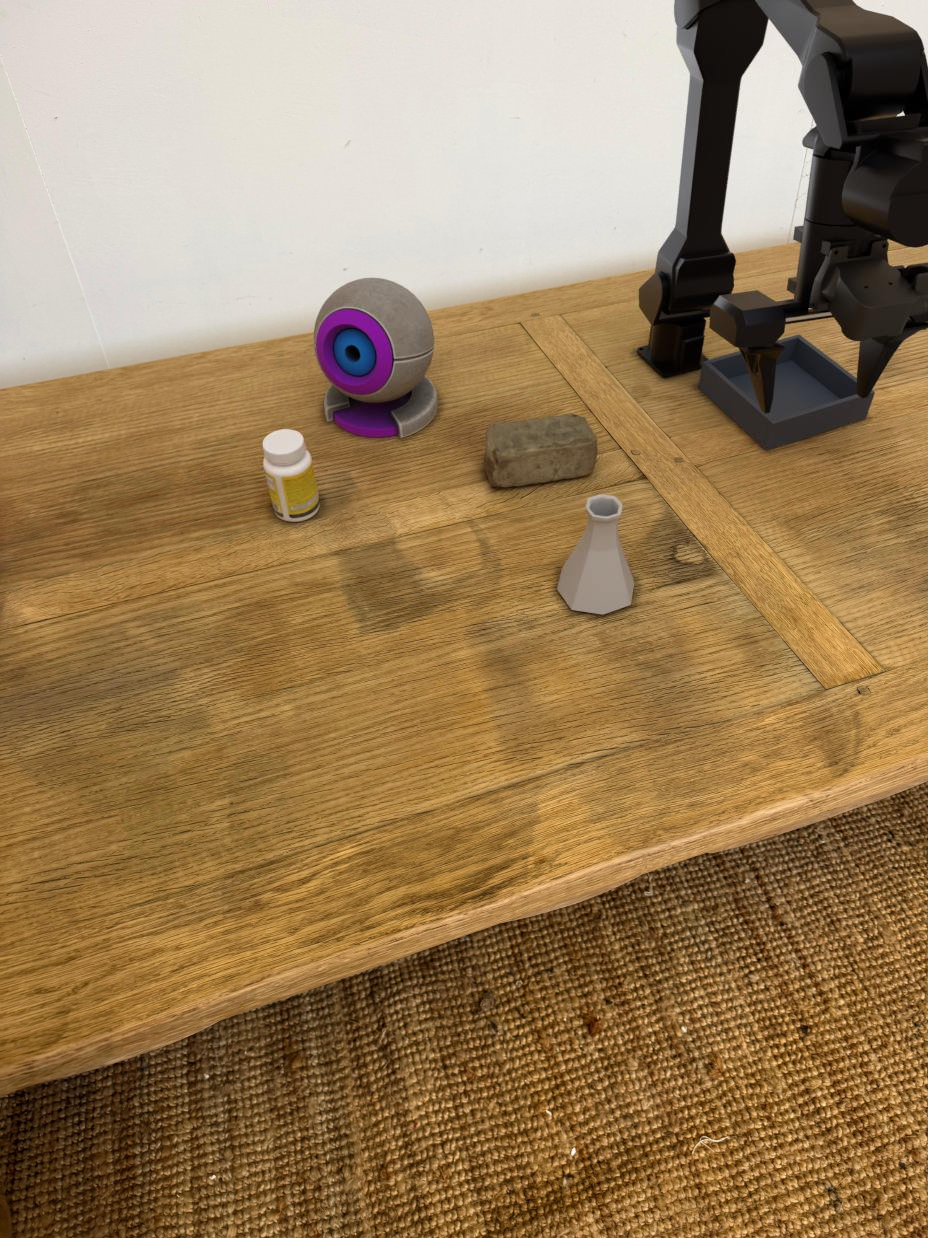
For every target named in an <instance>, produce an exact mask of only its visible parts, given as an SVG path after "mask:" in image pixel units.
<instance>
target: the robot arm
mask: <svg viewBox="0 0 928 1238" xmlns="http://www.w3.org/2000/svg"><path fill="white" fill-rule="evenodd" d="M673 16H674V22H675V25H676V34H675V36H676V39H675V41H676V46H677V48H678V50H679V53H680V56H681V58H682V60H683V62H684V64H685V66H686V68H687V70H688V73H689V84H688V85H689V86H688V94H687V105H686V114H685V126H684V133H683V145H682V146H683V147H682V155H681V157H682V158H681V164H680V175H679V185H678V196H677V205H676V206H677V207H676V217H675V225H674V228H673V229H672V230H671V232H670V234H668V236H667V238H666V239H665V241H664V242H663V244H662V245H661V247H660V248H659V250H658V252H657V255H656V262H655V267H654V273H652V275H651V276H650V277H649V278H647V280H646V281H645V282H644V283H643V284H642V285H641V286H639V288H638V308H639V309H640V311H641V313H642V314H643V315H644V317H645V318H646V319H647V321H648V322H649V324H650V329H649V335H648V336H649V337H648V343H647V344H646V345H643V346H639V347H637V348H636V353H637V355H638V356H639V357H640V358H641V359H643V360H644V361H645V362H646V363H647V364H648V365H649V366H650V367H651V368H652V369H653V370H654V371H655V372H656V373H657V374H658V375H660V376H661V377H662V378H669V377H673V376H676V375H680V374H684V373H687V372H691V371H694V370H697V369H701V368H702V363H703V361H706V360H710V359H709V358H708V357H707V356H705V355H704V354H703V348H704V343H705V332H706V331H705V330H706V325H707V319H706V318H709V321H708V328H709V329H710V330H712V331H713V332H714V333H715V334H717V335H718V336H720V337H721V338H722V339H724V340H725V341H726V342H727V343H729V344H730V345H731V346H733V347H735V348H738V351H740V352H741V354H742V357H743V359H744V361H745V363H746V366H747V369H748V372H749V375H750V378H751V381H752V385H753V388H754V391H755V394H756V397H757V400H758V403H759V406H760V409H761V411H762V412H764V413H765V414H768V413H770V410H771V406H772V402H773V395H774V384H775V373H776V362H777V358H778V357H779V355H780V354H781V353H782V351H783V350H784V349H785V346H784V345H783V344H781V343H780V342H778V341H777V340H780V339H781V337H782V336H783V335H784V334H785V329H786V325H792V324H799V323H804V322H812V321H818V320H825V319H826V320H827V319H832V318H833V319H834V320H835V322H836V323H837V324H838V325H839V327H840V331H841V333H842V334H843V336H844V337H846V339H848V340H850V341H853V342H859V346H858V347H859V348H858V360H857V371H856V378H857V395H858V396H859V397H861V398H867V397H868V396H869V394H870V392H871V391H872V390H873V389H874V387H875V386H876V384H877V382H878V381H879V379H880V377H881V376H882V374H883V372H884V371H885V369H886V368H887V366H888V364H889V363H890V361H891V359H892V358H893V357H894V354H895V353H896V352H897V350H898V349H899V347H900V346H901V345H902V344H903V342H904V341H906V340H908V338H910V337H912V336H914V335H915V334H917V333H918V332H922V331H926V330H927V329H928V262H921V263H913V264H909V265H907V266H904V265H903V264H899V265H891V264H890V263H889V255H888V253H889V247H890V242H889V241H891V242H894V243H896V244H899V245H902V246H903V247H905V248H915V249H916V248H923V247H925V246H928V59H927V55H926V51H925V50H926V49H925V46H924V42H923V40H922V38H921V36H920V35H919V32H918V31H917V30H916V29H914V28H913V26H912V27H911V25H909V24H906V23H905V22H903V21H902V20H900V19H898V18H896V17H895V16H892V15H888V14H885V13H880V12H877V11H872V10H868V9H865V8H863V7H861V6H860V5H858V4H856V3H855V1H854V0H674V2H673ZM769 22H771V23H772V25H773V26H774V28H775V29H776V30H777V31H778V33H779V35H781V37H782V38H783V39H784V41H785V42H786V44H788V46H789V47H790V48H791V50H792V52H793V53H794V54H795V55H796V56H797V58H798V61H799V62H800V64H801V71H800V73H799V74H800V75H799V79H798V82H797V89H798V90H799V92H800V94H801V97H802V99H803V101H804V103H805V105H806V107H807V109H808V111H809V114H810V115H811V117H812V119H813V121H814V124H815V126H814V127H813V128H812V129H810V130H809V131H808V132H807V133H806V134H805V136H803V138H802V141H801V144H802V147H804V148H807V149H810V150H812V155H811V162H810V171H809V178H808V187H807V194H806V202H805V210H804V217H803V224H802V225H795V226H794V228H793V229H794V230H793V237H792V240H793V241H795V242H797V243H800V247H799V254H798V262H797V269H796V270H797V271H796V276H793V277H792V276H791V277H788V279H787V285H786V291H787V292H789V293H791V294H793V298H790V299H783V300H775V299H773V298H771V297H770V296H768V295H766V294H764V293H763V292H761V291H760V290H758V289H755V290H747V291H740V292H733V291H734V288H735V275H734V273H735V268H736V264H737V259H736V256H735V254H734V253H733V252H731V250H730V248H729V246H728V244H727V242H726V239H725V238H724V236H723V233H722V232H723V231H722V230H723V222H724V213H725V206H726V199H727V191H728V182H729V175H730V167H731V159H732V153H733V152H732V151H733V144H734V138H735V131H736V130H735V129H736V122H737V113H738V107H739V98H740V92H741V91H740V90H741V84H742V78H743V76H744V75H745V74H746V71H747V70H748V69H749V67H750V66H751V64H752V63H753V62H754V60H755V58H756V56H757V55H758V53H759V52H760V50H761V49H762V47H763V46H764V43H765V39H766V34H767V29H768V24H769ZM902 113H903V114H904V115H900V114H902Z"/></svg>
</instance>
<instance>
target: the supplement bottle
mask: <svg viewBox="0 0 928 1238" xmlns="http://www.w3.org/2000/svg"><path fill="white" fill-rule="evenodd" d="M262 450H263V455H264V457H263V461H262V467H263V471H264V475H265V476H264V477H265V479H266V484H267V487H268V492H269V497H270V500H271V505H272V508H273V512H274V514H275V515H276V517H278V519H280V520H282V521H285V522H289V523H290V522H291V523H297V522H298V523H300V522H305V521H306V520H309V519H311V518H313V516H315V515H316V514H317V513H318V511H319V510H320V506H321V501H320V493H319V490H318V483H317V479H316V474H315V473H316V472H315V468H314V464H313V459H312V455H311V453H310V452H309V450H307V446H306V442H305V439H304V436H303V434H302V433H301V432H299V431H297V430H295V429H291V428H282V429H277V430H274V431H272V432H270V433H269V434H267V435H266V436H265V437H264V438H263V440H262Z"/></svg>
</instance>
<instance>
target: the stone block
mask: <svg viewBox="0 0 928 1238" xmlns="http://www.w3.org/2000/svg"><path fill="white" fill-rule="evenodd" d="M484 444H485V448H484V456H483V461H482V463H483V467H484V472H485V474H486V475H487V477H488V478H487V479H488V481H489V483H490V485H491V486H492V487H494V488H495V487H498V488H499V487H500V488H510V487H511V488H512V487H524V486H529V485H537V484H544V483H549V482H556V481H560V480H570V479H575V478H581V477H585V476H587V475H589V474H591V473H593V471H594V469H595V465H596V463H597V458H598V437H597V435H596V434H595V431H594V429H593V428H592V426H591V425H590V423H589V422H588V420H587V418H586V417H585V416H580V415H578V414H575V413H568V414H567V413H566V414H562V415H551V416H545V417H538V418H531V419H525V420H518V421H505V422H502V423H493V424H492V425H488V426H487V427H486V430H485V443H484Z"/></svg>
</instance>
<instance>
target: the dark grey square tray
mask: <svg viewBox="0 0 928 1238" xmlns="http://www.w3.org/2000/svg"><path fill="white" fill-rule="evenodd" d="M777 341H778V342H780V343H781V344H783V345H784V346H785V349H784V350H783V351H782V353H781V354H780V355H779V357H778V358H777V362H776V373H775V384H774V395H773V402H772V406H771V410H770V413H768V414H765V413H764V412H762V411H761V409H760V406H759V403H758V400H757V397H756V394H755V391H754V388H753V385H752V381H751V378H750V375H749V372H748V369H747V366H746V363H745V361H744V359H743V357H742V354H741V352H740V350H737V351H735V352H731V353H727V354H723V355H720V356H716V357H714V358H710V359H709V360H706V361H703V363H702V367H701V368H700V373H699V380H698V385H697V388H698V390H699V391H701V392H702V393H703V394H704V395H705V396H706V397H707V398H708V399H710V401H712V402H713V403H714V404H715V405H716V406H717V407H718V408H719V409H720V410H722V412H723V413H725V414H726V415H727V416H728V417H729V418H730V419H731V420H732V421H733V422H734V423H735V424H736V425H737V426H739V427H740V429H742V430H743V431H744V432H745V433H746V434H747V435H748V436H749V437H751V438H752V439H753V440H754V441H755V442H756V443H757V444H758V445H759V446H761V448H763V449H764V450H765V451H766V452H767V451H769V450H773V449H775V448H779V447H782V446H786V445H789V444H791V443H795V442H798V441H801V440H804V439H807V438H808V439H809V438H810V437H813V436H817V435H821V434H823V433H826V432H829V431H833V430H836V429H839V428H842V427H845V426H849V425H851V424H855V423H858V422H861V421H865V420H867V417H868V415H869V411H870V408H871V405H872V403H873V401H874V400H873V399H874V397H875V395H876V394H875V390H873V389H872V391H871V392H870V394H869V396H868V397H867V398H861V397H859V396H858V395H857V376H855V375H853V374H852V373H851V372H850V371H848V370H847V369H846V368H844V367H843V366H841V365H840V364H839V363H838V362H836V361H835V360H833V359H832V358H831V357H830V356H828V355H827V354H825V352H823V351H822V350H820V349H819V348H818V347H817V346H816V345H814V344H812V343H811V342H810V341H809V340H807V339H806V338H804V337H803V336H802V334H799V333H798V334H795V335H791V336H788V337H784V338H779V339H778V340H777Z"/></svg>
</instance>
